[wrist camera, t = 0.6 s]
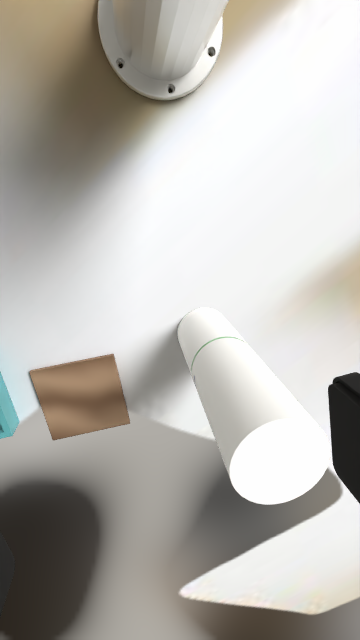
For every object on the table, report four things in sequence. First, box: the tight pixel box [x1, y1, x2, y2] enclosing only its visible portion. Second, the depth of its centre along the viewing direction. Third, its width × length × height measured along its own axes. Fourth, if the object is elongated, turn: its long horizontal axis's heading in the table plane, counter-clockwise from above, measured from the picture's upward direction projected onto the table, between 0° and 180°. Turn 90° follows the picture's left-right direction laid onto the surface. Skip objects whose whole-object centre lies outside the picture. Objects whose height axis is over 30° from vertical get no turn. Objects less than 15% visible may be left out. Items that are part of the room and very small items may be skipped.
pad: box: [29, 354, 130, 440], centre depth 46 cm, size 11×11×1 cm
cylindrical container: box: [177, 308, 331, 504], centre depth 34 cm, size 7×7×25 cm
